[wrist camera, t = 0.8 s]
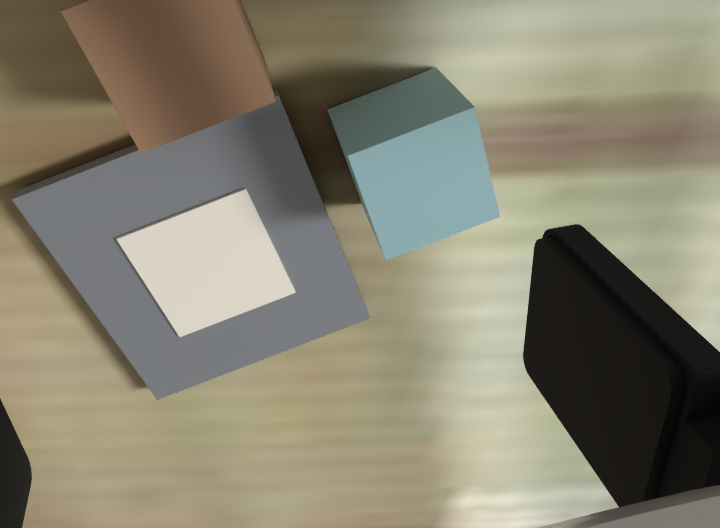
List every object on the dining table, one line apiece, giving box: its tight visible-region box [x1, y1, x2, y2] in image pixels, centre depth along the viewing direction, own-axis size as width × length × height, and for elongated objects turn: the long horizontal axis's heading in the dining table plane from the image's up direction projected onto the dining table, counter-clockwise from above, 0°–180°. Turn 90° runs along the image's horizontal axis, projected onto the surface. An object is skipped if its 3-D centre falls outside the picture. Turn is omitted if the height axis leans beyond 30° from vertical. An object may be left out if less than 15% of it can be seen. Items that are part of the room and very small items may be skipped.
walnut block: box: [61, 0, 276, 153], centre depth 29 cm, size 6×6×6 cm
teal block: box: [327, 68, 500, 260], centre depth 34 cm, size 6×6×6 cm
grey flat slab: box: [12, 89, 370, 400], centre depth 37 cm, size 14×15×1 cm
